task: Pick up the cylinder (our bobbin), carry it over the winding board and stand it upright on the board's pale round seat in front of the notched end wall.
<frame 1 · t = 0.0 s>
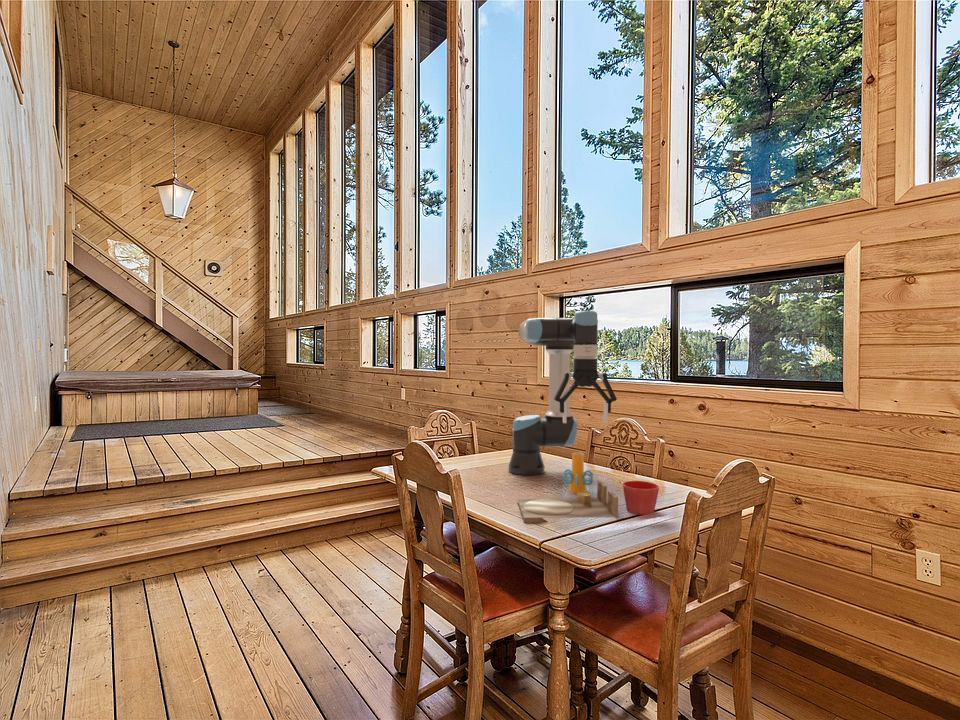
hand: (585, 422, 174), 28 cm above the table, fingers open, 13 cm apart
board: (565, 511, 170), on the table
wooden block: (584, 503, 174), point 1 cm above the table, touching board
cylinder: (577, 495, 188), on the table
flower pot: (640, 515, 167), on the table
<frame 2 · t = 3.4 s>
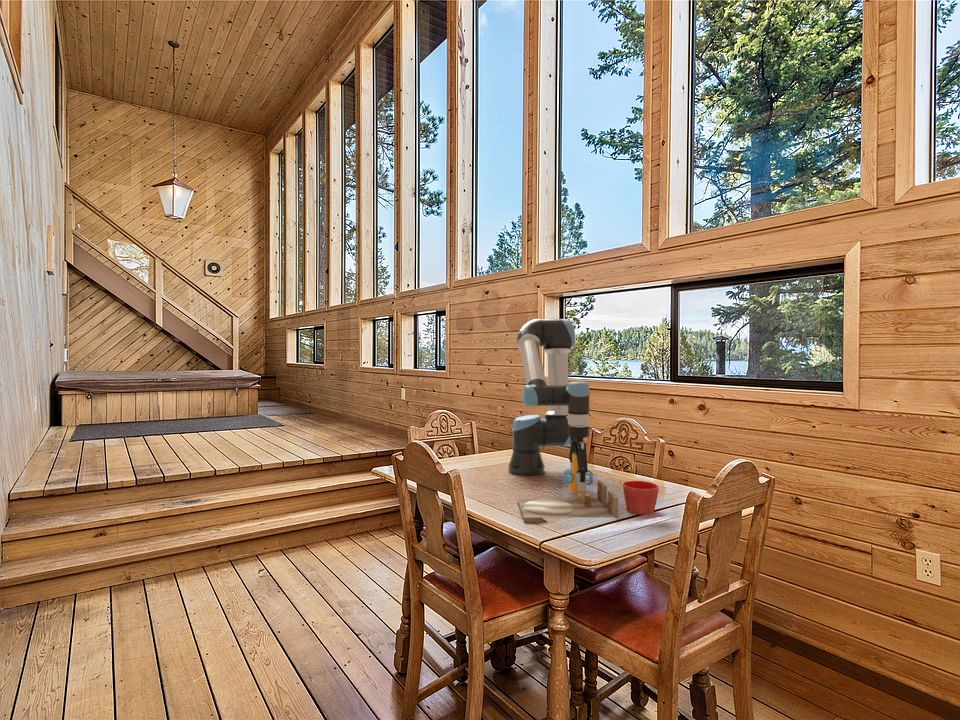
hand: (577, 486, 188), 3 cm above the table, fingers closed on cylinder, 12 cm apart
cylinder: (577, 495, 188), on the table, touching gripper
everything else where it was.
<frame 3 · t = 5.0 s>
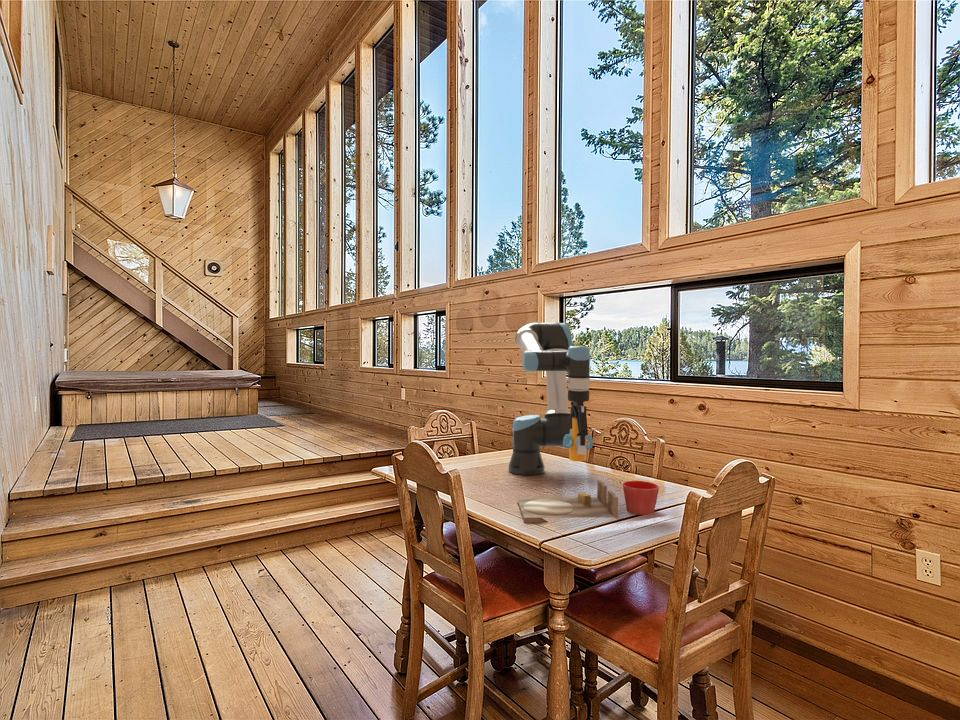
hand: (577, 450, 188), 16 cm above the table, fingers closed on cylinder, 12 cm apart
cylinder: (577, 460, 188), point 12 cm above the table, touching gripper
everything else where it was.
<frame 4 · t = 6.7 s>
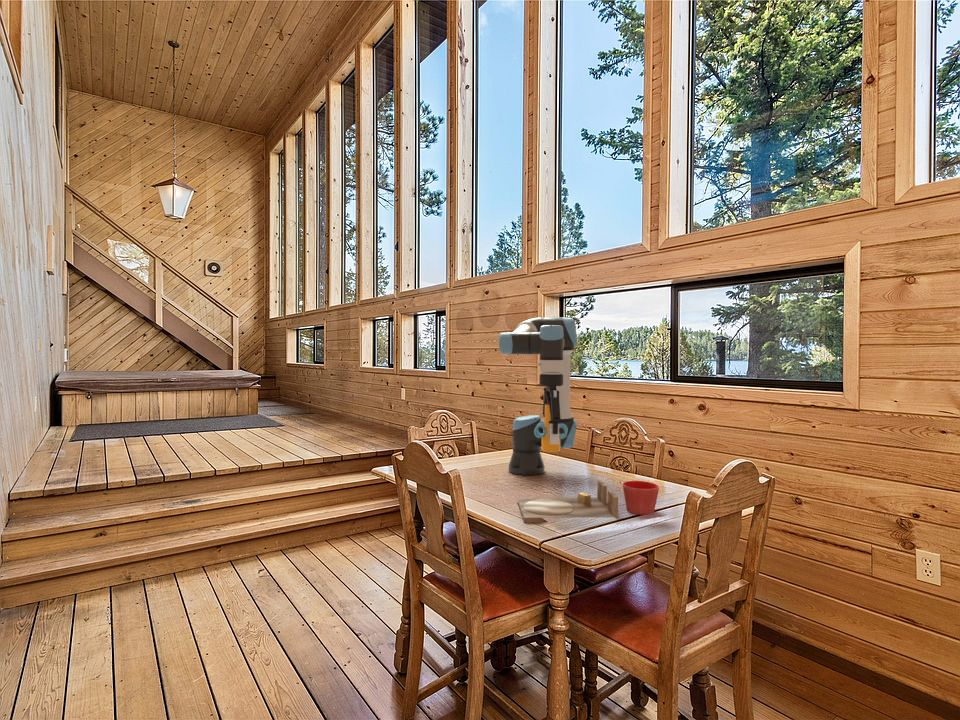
hand: (550, 440, 170), 23 cm above the table, fingers closed on cylinder, 12 cm apart
cylinder: (551, 451, 170), point 19 cm above the table, touching gripper
everything else where it was.
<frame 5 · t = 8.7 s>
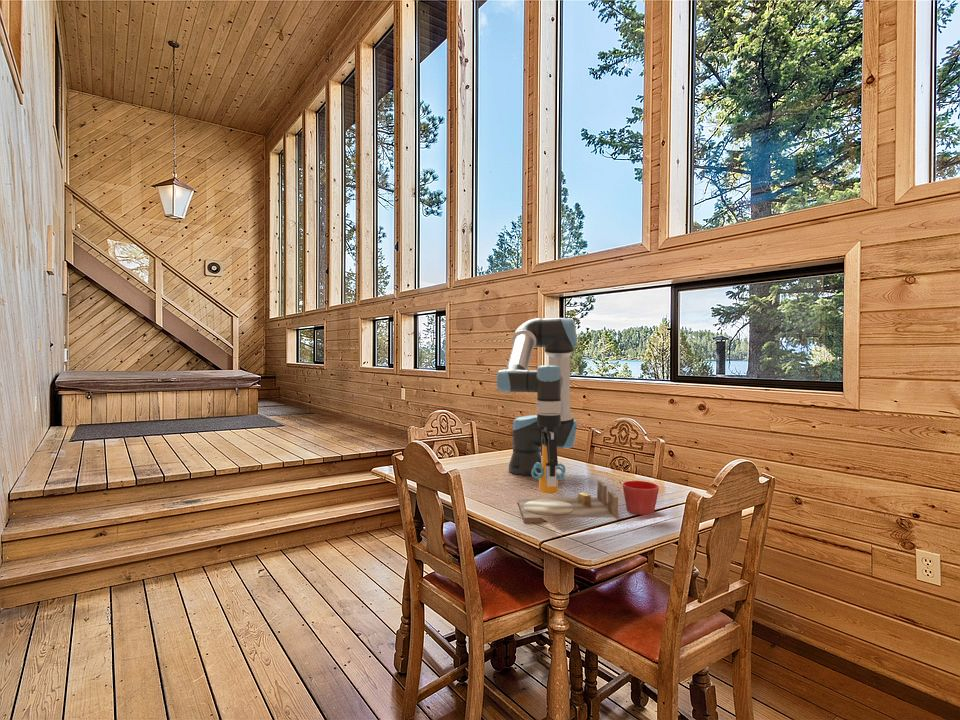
hand: (548, 481, 169), 10 cm above the table, fingers closed on cylinder, 12 cm apart
cylinder: (548, 492, 169), point 6 cm above the table, touching gripper
everything else where it was.
when the fingers open (6 cm above the table, at t = 10.4 s): cylinder drops 1 cm, resting on board.
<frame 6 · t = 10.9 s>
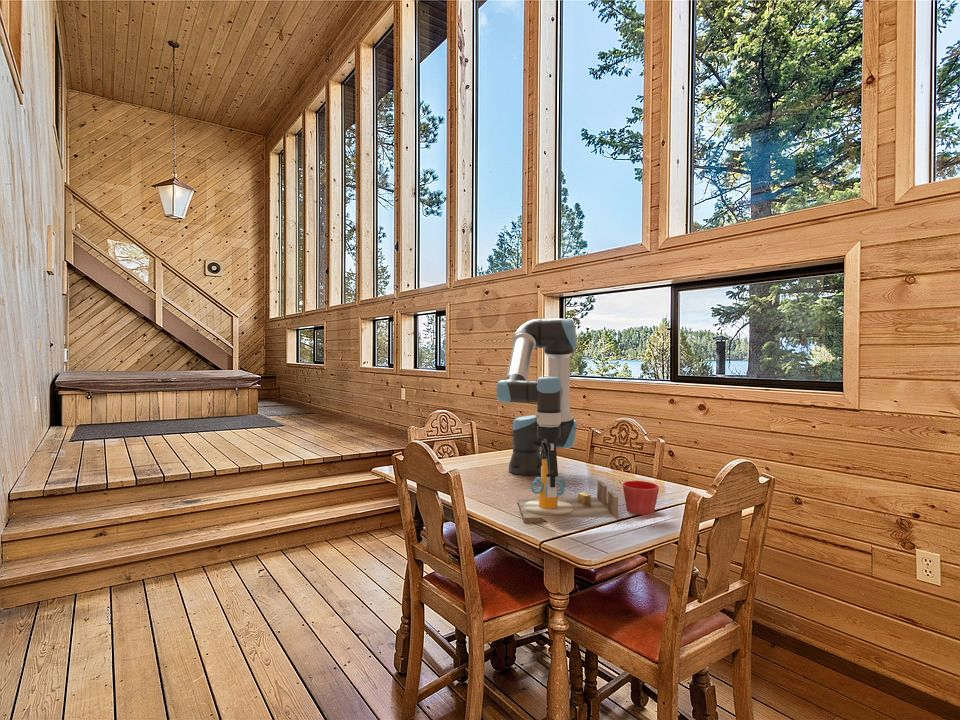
hand: (548, 491, 170), 7 cm above the table, fingers open, 13 cm apart
cylinder: (548, 506, 170), point 2 cm above the table, touching board
everything else where it was.
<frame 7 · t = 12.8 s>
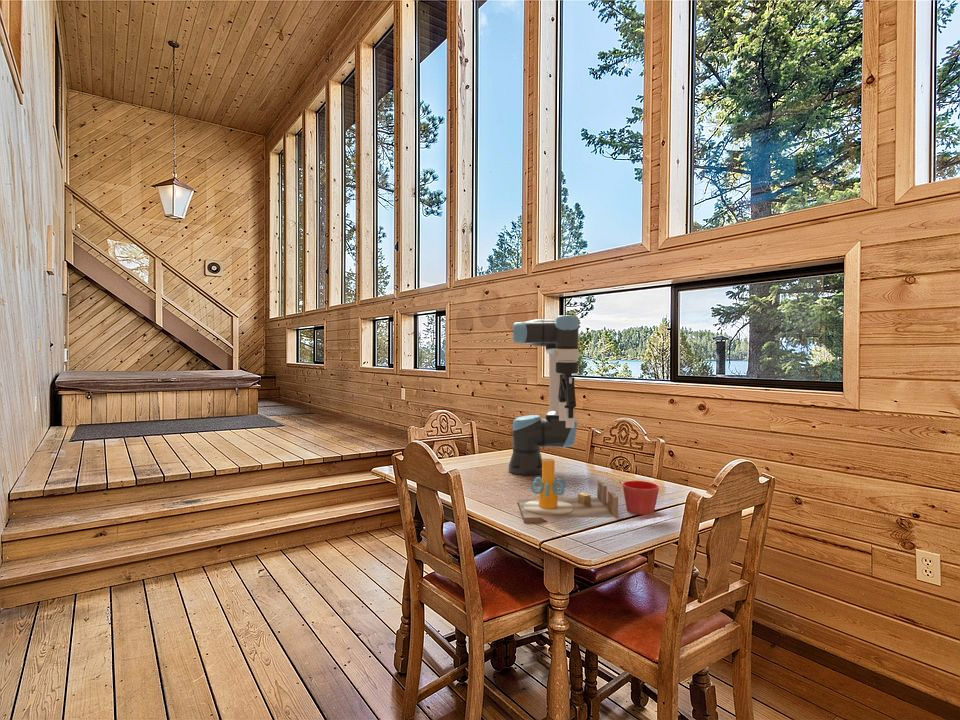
hand: (566, 424, 179), 27 cm above the table, fingers open, 13 cm apart
nothing on the table moved.
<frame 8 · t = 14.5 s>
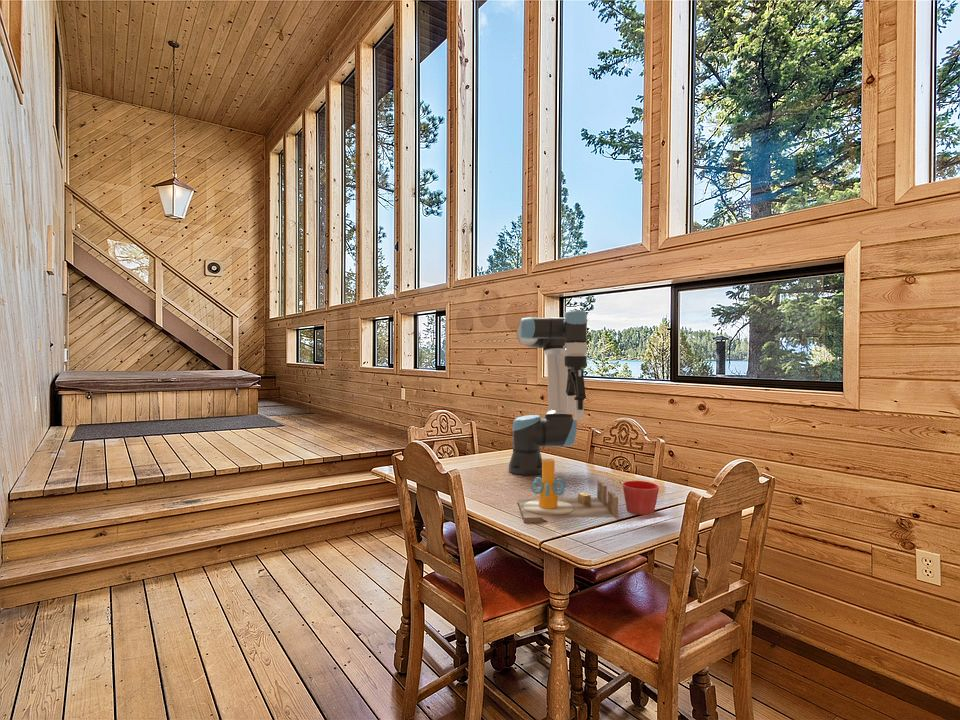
hand: (575, 416, 183), 29 cm above the table, fingers open, 13 cm apart
nothing on the table moved.
at the end: cylinder inside the target area on the board (0.3 cm from its centre), point 1.5 cm above the board's base; cylinder tilted 0°; the gripper is holding nothing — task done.
